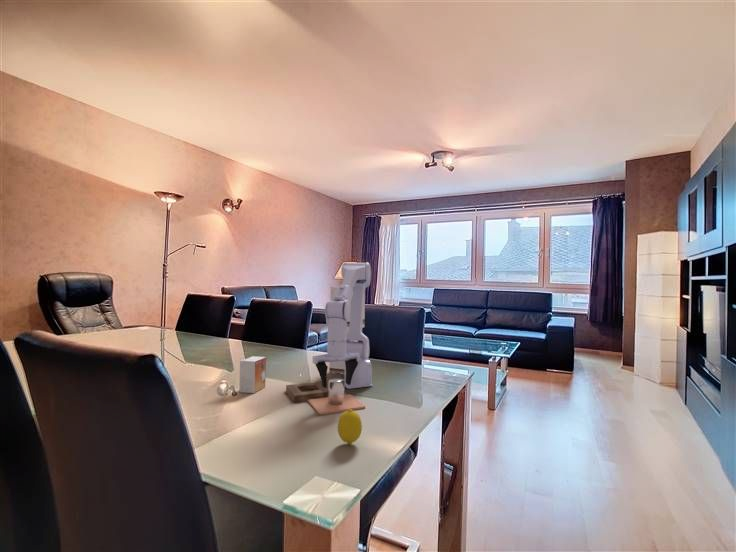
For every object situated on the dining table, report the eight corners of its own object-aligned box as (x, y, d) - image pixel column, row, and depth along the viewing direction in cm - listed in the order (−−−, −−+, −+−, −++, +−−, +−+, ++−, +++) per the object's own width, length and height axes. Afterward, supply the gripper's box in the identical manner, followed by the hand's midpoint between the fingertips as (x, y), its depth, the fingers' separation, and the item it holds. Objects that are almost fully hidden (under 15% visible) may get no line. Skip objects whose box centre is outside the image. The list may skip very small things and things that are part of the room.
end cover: (339, 399, 113) (340, 378, 113) (346, 403, 109) (347, 381, 109) (325, 401, 111) (325, 379, 111) (332, 406, 107) (332, 383, 107)
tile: (350, 396, 118) (350, 394, 118) (365, 408, 107) (365, 406, 107) (308, 401, 112) (308, 399, 112) (319, 414, 101) (319, 412, 101)
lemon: (337, 439, 86) (337, 405, 86) (360, 438, 86) (361, 405, 86) (337, 450, 80) (337, 413, 80) (362, 449, 81) (362, 413, 81)
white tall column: (353, 375, 143) (354, 286, 144) (329, 372, 147) (330, 286, 148) (363, 369, 154) (365, 286, 155) (341, 366, 158) (342, 286, 158)
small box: (254, 393, 119) (254, 361, 119) (238, 392, 120) (239, 360, 120) (266, 386, 127) (266, 356, 127) (251, 385, 128) (251, 355, 128)
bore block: (320, 387, 127) (320, 381, 127) (331, 397, 116) (331, 391, 116) (286, 391, 122) (286, 385, 122) (294, 402, 111) (294, 395, 111)
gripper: (317, 344, 103) (316, 392, 103) (364, 341, 109) (363, 386, 109) (310, 340, 109) (310, 385, 109) (355, 337, 116) (354, 380, 115)
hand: (336, 385), depth 110 cm, fingers open, 7 cm apart
